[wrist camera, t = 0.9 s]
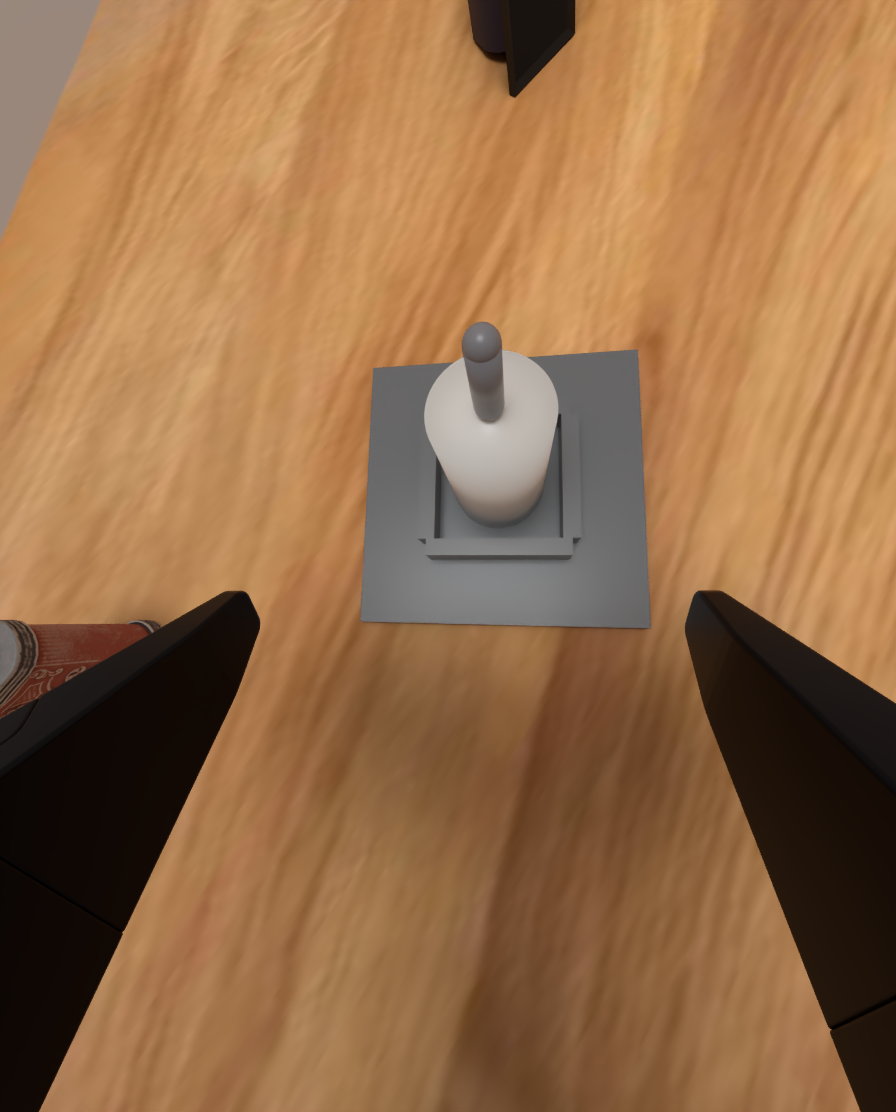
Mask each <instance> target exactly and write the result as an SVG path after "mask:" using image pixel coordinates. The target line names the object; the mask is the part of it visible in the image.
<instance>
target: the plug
mask: <svg viewBox="0 0 896 1112" xmlns="http://www.w3.org/2000/svg"><path fill="white" fill-rule="evenodd" d="M462 352H463V358H461V359H459V360H457V361H456V362H454V363H453V364H451V365H450V366H449V367H448V368H447V369H445V370H444V371H443V372H442V374H441V375H440V376H439V377H438V378H437V380H436V381H435V383H434V384H433V386H432V388H431V390H430V392H429V394H428V397H427V400H426V404H425V411H424V423H425V428H426V432H427V436H428V438H429V441H430V443H431V445H432V447H433V449H434V451H435V453H436V455H437V457H438V460H439V462H440V464H441V466H442V468H443V470H444V472H445V474H446V476H447V479H448V481H449V483H450V485H451V487H452V489H453V491H454V493H455V495H456V498H457V500H458V502H459V504H460V506H461V508H462V509H463V511H464V512H465V513H466V514H467V516H468V517H470V518H471V519H472V520H474V521H475V522H477V523H479V524H481V525H483V526H486V527H491V528H505V527H510V526H513V525H516V524H518V523H520V522H522V521H523V520H525V519H526V518H527V517H528V516H529V515H530V514H531V513H532V512H533V511H534V510H535V508H536V507H537V505H538V503H539V501H540V498H541V495H542V490H543V486H544V481H545V476H546V471H547V466H548V462H549V457H550V452H551V447H552V442H553V438H554V433H555V428H556V423H557V418H558V399H557V394H556V391H555V388H554V386H553V383H552V381H551V380H550V378H549V376H548V375H547V374H546V373H545V371H544V370H543V369H542V368H541V367H540V366H539V365H538V364H536V363H535V362H534V361H532V360H531V359H529V358H527V357H525V356H524V355H521V354H518V353H516V352H511V351H507V350H502V340H501V336H500V333H499V331H498V330H497V329H496V327H495V326H493V325H492V324H490V323H488V322H477V323H475V324H473V325H471V326H470V327H469V328H468V329H467V330H466V332H465V333H464V335H463V338H462Z"/></svg>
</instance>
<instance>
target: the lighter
mask: <svg viewBox="0 0 896 1112" xmlns="http://www.w3.org/2000/svg"><path fill="white" fill-rule="evenodd" d="M161 627H162V626H161V625H160V624H158V623H157V622H155V621H149V620H135V621H131V622H128V623H126V624H43V625H27V624H26V623H24V622H23V621H17V620H0V718H2V717H4V716H6V715H8V714H9V713H11V712H13V711H15V710H17V709H18V708H20V707H22V706H24V705H25V704H27V703H29V702H31V701H32V700H34V699H36V698H40V697H41V696H42V695H43V694H45V693H47V692H48V691H50V690H52V689H54V688H56V687H57V686H59V685H61V684H63V683H64V682H66V681H68V680H70V679H71V678H73V677H75V676H77V675H78V674H80V673H82V672H84V671H85V670H87V669H89V668H91V667H93V666H94V665H96V664H98V663H100V662H101V661H103V660H105V659H107V658H108V657H110V656H112V655H114V654H115V653H117V652H119V651H121V650H122V649H124V648H126V647H128V646H130V645H131V644H133V643H135V642H137V641H138V640H140V639H142V638H144V637H145V636H147V635H149V634H151V633H152V632H154V631H156V630H158V629H159V628H161Z"/></svg>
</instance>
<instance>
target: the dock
mask: <svg viewBox="0 0 896 1112" xmlns="http://www.w3.org/2000/svg"><path fill="white" fill-rule="evenodd" d="M527 358H529V359H531V360H532V361H534V362H535V363H536V364H538V365H539V366H540V367H541V368H542V369H543V370H544V371H545V373H546V374H547V375H548V376H549V378H550V380H551V381H552V383H553V386H554V388H555V391H556V394H557V399H558V418H557V423H556V428H555V433H554V438H553V442H552V447H551V452H550V457H549V462H548V466H547V471H546V476H545V481H544V486H543V490H542V495H541V498H540V501H539V503H538V505H537V507H536V508H535V510H534V511H533V512H532V513H531V514H530V515H529V516H528V517H527V518H526V519H525V520H523V521H522V522H520V523H518V524H516V525H513V526H510V527H505V528H491V527H486V526H483V525H481V524H479V523H477V522H475V521H474V520H472V519H471V518H470V517H468V516H467V514H466V513H465V512H464V511H463V509H462V508H461V506H460V504H459V502H458V500H457V498H456V495H455V493H454V491H453V489H452V487H451V485H450V483H449V481H448V479H447V476H446V474H445V472H444V470H443V468H442V466H441V464H440V462H439V460H438V457H437V455H436V453H435V451H434V449H433V447H432V445H431V443H430V441H429V438H428V436H427V432H426V428H425V423H424V411H425V404H426V400H427V397H428V394H429V392H430V390H431V388H432V386H433V384H434V383H435V381H436V380H437V378H438V377H439V376H440V375H441V374H442V372H443V371H444V370H445V369H447V368H448V367H449V366H450V365H451V364H453V363H440V364H426V365H412V366H398V367H383V368H373V385H372V404H371V424H370V443H369V463H368V482H367V502H366V521H365V541H364V560H363V580H362V599H361V619H360V621H362V622H404V623H446V624H489V625H531V626H573V627H616V628H651V625H650V603H649V581H648V560H647V538H646V516H645V495H644V473H643V451H642V430H641V408H640V387H639V365H638V350H624V351H610V352H596V353H582V354H568V355H554V356H539V357H527Z"/></svg>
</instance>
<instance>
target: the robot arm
mask: <svg viewBox="0 0 896 1112" xmlns="http://www.w3.org/2000/svg"><path fill="white" fill-rule="evenodd" d="M259 630H260V619H259V616H258V614H257V612H256V610H255V608H254V605H253V603H252V601H251V599H250V597H249V595H248V594H247V593H246V592H244V591H225V592H223V593H221V594H219V595H218V596H216V597H214V598H212V599H211V600H209V601H207V602H205V603H203V604H202V605H200V606H198V607H196V608H195V609H193V610H191V611H189V612H188V613H186V614H184V615H182V616H181V617H179V618H177V619H175V620H174V621H172V622H170V623H168V624H166V625H165V626H163V627H161V628H159V629H158V630H156V631H154V632H152V633H151V634H149V635H147V636H145V637H144V638H142V639H140V640H138V641H137V642H135V643H133V644H131V645H130V646H128V647H126V648H124V649H122V650H121V651H119V652H117V653H115V654H114V655H112V656H110V657H108V658H107V659H105V660H103V661H101V662H100V663H98V664H96V665H94V666H93V667H91V668H89V669H87V670H85V671H84V672H82V673H80V674H78V675H77V676H75V677H73V678H71V679H70V680H68V681H66V682H64V683H63V684H61V685H59V686H57V687H56V688H54V689H52V690H50V691H48V692H47V693H45V694H43V695H42V696H41V697H40V698H36V699H34V700H32V701H31V702H29V703H27V704H25V705H24V706H22V707H20V708H18V709H17V710H15V711H13V712H11V713H9V714H8V715H6V716H4V717H2V718H0V1112H39V1111H40V1108H41V1106H42V1104H43V1102H44V1100H45V1098H46V1096H47V1094H48V1092H49V1089H50V1087H51V1085H52V1083H53V1081H54V1079H55V1077H56V1075H57V1073H58V1070H59V1068H60V1066H61V1064H62V1062H63V1060H64V1058H65V1056H66V1054H67V1051H68V1049H69V1047H70V1045H71V1043H72V1041H73V1039H74V1037H75V1035H76V1032H77V1030H78V1028H79V1026H80V1024H81V1022H82V1020H83V1018H84V1016H85V1013H86V1011H87V1009H88V1007H89V1005H90V1003H91V1001H92V999H93V997H94V994H95V992H96V990H97V988H98V986H99V984H100V982H101V980H102V978H103V975H104V973H105V971H106V969H107V967H108V965H109V963H110V961H111V958H112V956H113V954H114V952H115V950H116V948H117V946H118V944H119V942H120V939H121V937H122V935H123V933H122V932H123V931H124V930H125V928H126V926H127V924H128V922H129V920H130V918H131V916H132V914H133V911H134V909H135V907H136V905H137V903H138V901H139V899H140V897H141V895H142V892H143V890H144V888H145V886H146V884H147V882H148V880H149V878H150V876H151V873H152V871H153V869H154V867H155V865H156V863H157V861H158V859H159V857H160V854H161V852H162V850H163V848H164V846H165V844H166V842H167V840H168V838H169V835H170V833H171V831H172V829H173V827H174V825H175V823H176V821H177V819H178V817H179V814H180V812H181V810H182V808H183V806H184V804H185V802H186V800H187V798H188V795H189V793H190V791H191V789H192V787H193V785H194V783H195V781H196V779H197V776H198V774H199V772H200V770H201V768H202V766H203V764H204V762H205V760H206V757H207V755H208V753H209V751H210V749H211V747H212V745H213V743H214V741H215V738H216V736H217V734H218V732H219V730H220V728H221V726H222V724H223V722H224V720H225V717H226V715H227V713H228V711H229V709H230V707H231V705H232V703H233V700H234V698H235V696H236V694H237V691H238V689H239V686H240V683H241V681H242V678H243V675H244V672H245V670H246V667H247V664H248V661H249V658H250V655H251V653H252V650H253V647H254V644H255V641H256V639H257V636H258V633H259ZM685 635H686V639H687V643H688V647H689V651H690V655H691V658H692V662H693V666H694V670H695V674H696V678H697V682H698V686H699V690H700V694H701V697H702V701H703V704H704V708H705V711H706V714H707V717H708V719H709V722H710V725H711V727H712V730H713V733H714V735H715V738H716V740H717V743H718V745H719V748H720V751H721V753H722V756H723V758H724V761H725V763H726V766H727V769H728V771H729V774H730V776H731V779H732V781H733V784H734V787H735V789H736V792H737V794H738V797H739V799H740V802H741V805H742V807H743V810H744V812H745V815H746V817H747V820H748V822H749V825H750V828H751V830H752V833H753V835H754V838H755V840H756V843H757V846H758V848H759V851H760V853H761V856H762V858H763V861H764V864H765V866H766V869H767V871H768V874H769V876H770V879H771V882H772V884H773V887H774V889H775V892H776V894H777V897H778V900H779V902H780V905H781V907H782V910H783V912H784V915H785V918H786V920H787V923H788V925H789V928H790V930H791V933H792V935H793V938H794V941H795V943H796V946H797V948H798V951H799V953H800V956H801V959H802V961H803V964H804V966H805V969H806V971H807V974H808V977H809V979H810V982H811V984H812V987H813V989H814V992H815V995H816V997H817V1000H818V1002H819V1005H820V1007H821V1010H822V1013H823V1015H824V1018H825V1020H826V1023H827V1025H828V1027H829V1028H830V1029H832V1030H831V1031H830V1034H831V1037H832V1039H833V1042H834V1044H835V1047H836V1050H837V1052H838V1055H839V1057H840V1060H841V1062H842V1065H843V1068H844V1070H845V1073H846V1075H847V1078H848V1080H849V1083H850V1086H851V1088H852V1091H853V1093H854V1096H855V1098H856V1101H857V1104H858V1106H859V1109H860V1111H861V1112H896V703H894V702H893V701H891V700H890V699H888V698H887V697H885V696H883V695H882V694H880V693H879V692H877V691H876V690H874V689H873V688H871V687H870V686H868V685H866V684H865V683H863V682H862V681H860V680H859V679H857V678H856V677H854V676H853V675H851V674H850V673H848V672H846V671H845V670H843V669H842V668H840V667H839V666H837V665H836V664H834V663H833V662H831V661H829V660H828V659H826V658H825V657H823V656H822V655H820V654H819V653H817V652H816V651H814V650H812V649H811V648H809V647H808V646H806V645H805V644H803V643H802V642H800V641H799V640H797V639H795V638H794V637H792V636H791V635H789V634H788V633H786V632H785V631H783V630H782V629H780V628H779V627H777V626H775V625H774V624H772V623H771V622H769V621H768V620H766V619H765V618H763V617H762V616H760V615H758V614H757V613H755V612H754V611H752V610H751V609H749V608H748V607H746V606H745V605H743V604H741V603H740V602H738V601H737V600H735V599H734V598H732V597H731V596H729V595H728V594H726V593H724V592H722V591H718V590H701V591H698V592H696V593H695V594H694V596H693V599H692V602H691V606H690V609H689V613H688V616H687V619H686V623H685Z"/></svg>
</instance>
